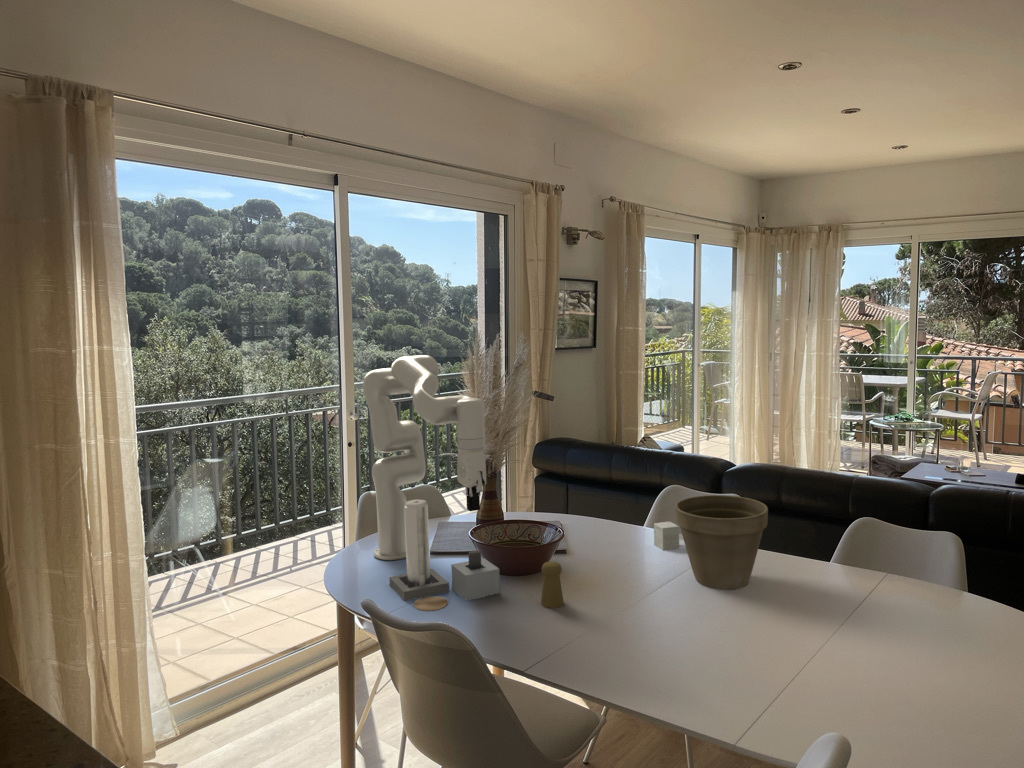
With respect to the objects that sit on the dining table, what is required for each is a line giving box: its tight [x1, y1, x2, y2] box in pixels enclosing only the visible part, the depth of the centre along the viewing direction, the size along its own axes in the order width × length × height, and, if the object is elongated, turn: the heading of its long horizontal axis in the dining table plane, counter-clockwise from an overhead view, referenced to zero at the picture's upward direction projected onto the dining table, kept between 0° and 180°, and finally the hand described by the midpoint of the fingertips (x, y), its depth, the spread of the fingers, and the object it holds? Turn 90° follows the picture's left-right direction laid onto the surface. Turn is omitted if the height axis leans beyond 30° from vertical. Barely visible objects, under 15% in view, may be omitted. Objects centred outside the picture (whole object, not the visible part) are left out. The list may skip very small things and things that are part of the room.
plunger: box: [468, 550, 482, 569], centre depth 201 cm, size 3×3×4 cm
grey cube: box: [653, 521, 680, 551], centre depth 235 cm, size 6×6×7 cm
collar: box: [388, 568, 450, 602], centre depth 205 cm, size 13×13×2 cm
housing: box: [451, 557, 501, 601], centre depth 202 cm, size 10×10×7 cm
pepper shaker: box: [540, 561, 565, 609], centre depth 192 cm, size 6×6×11 cm
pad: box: [413, 595, 449, 612], centre depth 194 cm, size 9×9×1 cm
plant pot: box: [674, 494, 769, 590], centre depth 205 cm, size 25×25×22 cm
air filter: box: [404, 499, 431, 588], centre depth 204 cm, size 6×6×25 cm
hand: (473, 509), depth 200 cm, fingers closed
